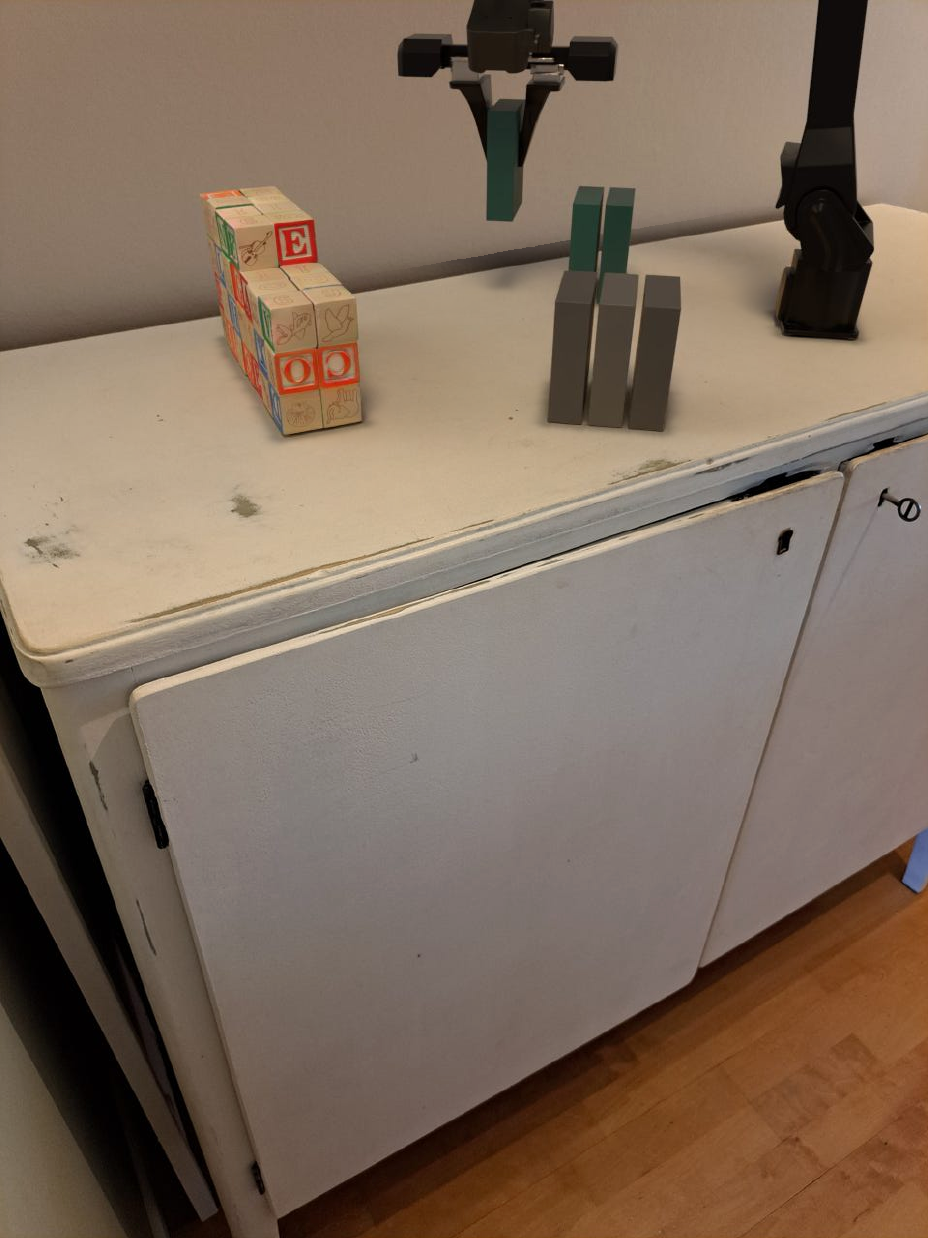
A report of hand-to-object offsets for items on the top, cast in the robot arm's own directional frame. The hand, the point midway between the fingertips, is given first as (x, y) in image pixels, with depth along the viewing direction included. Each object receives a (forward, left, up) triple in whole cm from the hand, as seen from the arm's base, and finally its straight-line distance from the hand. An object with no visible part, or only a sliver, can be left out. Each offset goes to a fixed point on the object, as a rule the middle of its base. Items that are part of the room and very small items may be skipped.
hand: (505, 165), depth 84 cm
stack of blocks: (+14, +25, -12) cm, 31 cm away
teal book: (0, 0, -4) cm, 4 cm away
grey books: (-12, +26, -12) cm, 31 cm away
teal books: (-9, -1, -12) cm, 15 cm away
